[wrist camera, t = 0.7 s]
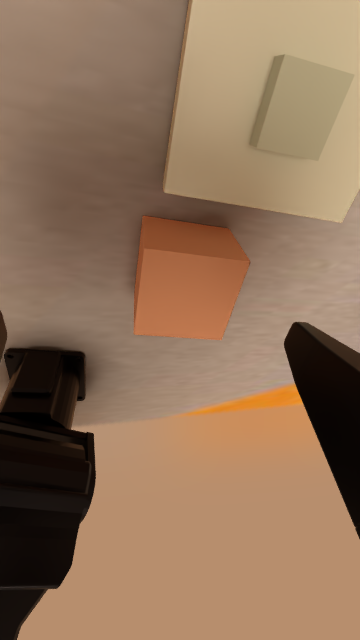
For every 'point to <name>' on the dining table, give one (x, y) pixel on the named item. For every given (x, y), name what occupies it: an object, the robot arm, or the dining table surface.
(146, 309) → the brick
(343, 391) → the robot arm
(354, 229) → the dining table surface
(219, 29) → the cream flat block
